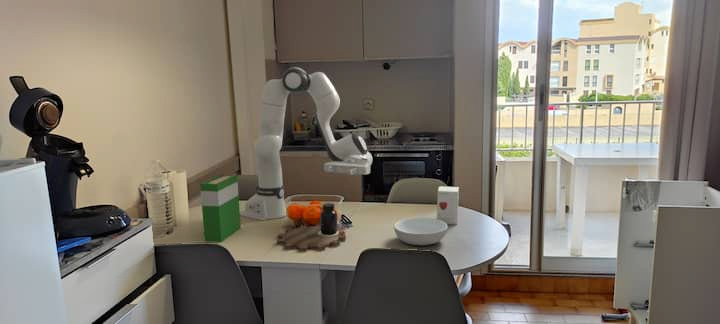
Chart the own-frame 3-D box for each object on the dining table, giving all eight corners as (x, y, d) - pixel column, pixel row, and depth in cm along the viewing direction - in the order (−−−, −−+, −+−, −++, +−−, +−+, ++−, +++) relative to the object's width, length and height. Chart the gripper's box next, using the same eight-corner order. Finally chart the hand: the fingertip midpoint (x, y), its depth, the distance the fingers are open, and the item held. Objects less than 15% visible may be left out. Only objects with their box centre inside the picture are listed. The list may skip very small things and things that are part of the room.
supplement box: (436, 223, 216) (436, 190, 213) (438, 217, 225) (438, 185, 222) (457, 224, 214) (458, 191, 211) (458, 218, 223) (459, 186, 220)
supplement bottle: (317, 234, 200) (316, 205, 198) (326, 229, 206) (325, 201, 204) (331, 236, 197) (331, 207, 195) (340, 231, 203) (339, 203, 201)
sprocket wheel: (263, 246, 193) (263, 242, 192) (299, 225, 218) (299, 221, 217) (326, 255, 182) (326, 251, 181) (356, 232, 207) (356, 228, 206)
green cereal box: (225, 227, 217) (221, 174, 212) (240, 228, 215) (237, 174, 211) (204, 241, 200) (200, 183, 195) (221, 242, 198) (217, 184, 194)
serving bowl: (412, 229, 209) (412, 214, 208) (456, 239, 196) (457, 223, 195) (383, 243, 194) (383, 226, 192) (429, 255, 181) (429, 237, 179)
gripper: (331, 157, 225) (317, 162, 212) (373, 159, 217) (360, 165, 204) (332, 170, 226) (317, 176, 213) (373, 173, 218) (361, 180, 205)
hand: (339, 171), depth 209 cm, fingers open, 8 cm apart
